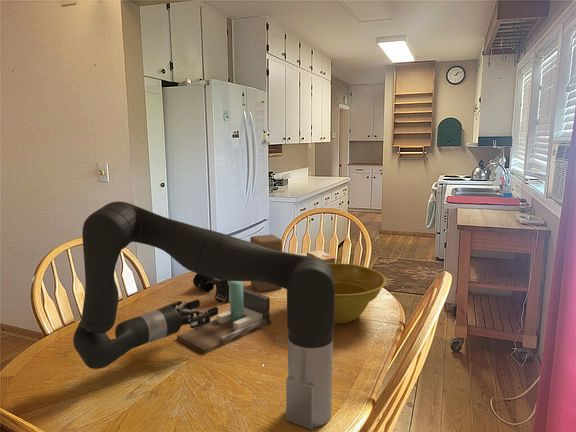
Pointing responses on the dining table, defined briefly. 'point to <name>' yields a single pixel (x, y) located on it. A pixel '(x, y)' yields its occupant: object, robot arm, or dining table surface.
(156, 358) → the dining table surface
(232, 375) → the dining table surface
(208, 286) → the black flared cup shape
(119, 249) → the robot arm
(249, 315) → the carriage
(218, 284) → the battery charger
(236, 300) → the dowel
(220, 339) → the rail base
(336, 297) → the planter bowl
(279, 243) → the block
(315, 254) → the stack of blocks
